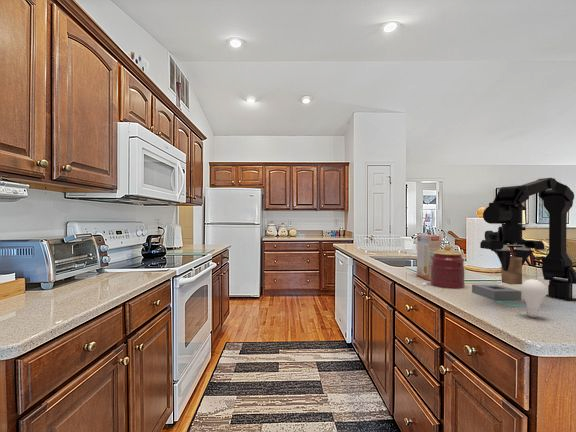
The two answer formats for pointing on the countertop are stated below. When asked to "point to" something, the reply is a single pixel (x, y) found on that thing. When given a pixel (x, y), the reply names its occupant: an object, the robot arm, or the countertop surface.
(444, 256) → the canister
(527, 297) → the lightbulb
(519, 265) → the plug
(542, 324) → the countertop surface
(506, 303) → the mat
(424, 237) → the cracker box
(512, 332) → the countertop surface
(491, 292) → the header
